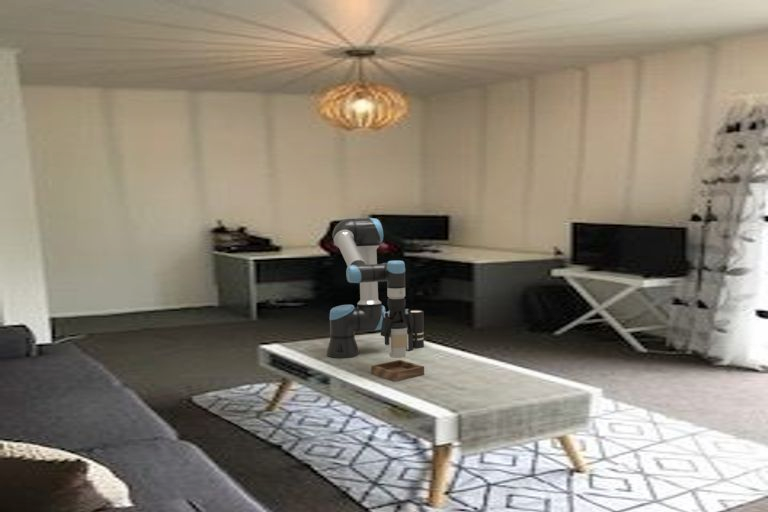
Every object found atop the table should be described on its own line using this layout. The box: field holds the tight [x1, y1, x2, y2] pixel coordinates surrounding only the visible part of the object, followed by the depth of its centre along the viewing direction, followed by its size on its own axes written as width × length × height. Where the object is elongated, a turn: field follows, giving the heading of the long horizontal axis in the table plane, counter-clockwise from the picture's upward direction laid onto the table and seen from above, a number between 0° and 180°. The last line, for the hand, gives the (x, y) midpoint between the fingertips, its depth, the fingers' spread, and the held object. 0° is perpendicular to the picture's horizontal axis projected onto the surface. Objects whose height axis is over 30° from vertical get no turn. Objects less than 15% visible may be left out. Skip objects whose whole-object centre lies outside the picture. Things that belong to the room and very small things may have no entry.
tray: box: [370, 359, 425, 382], centre depth 295 cm, size 16×16×4 cm
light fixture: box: [396, 309, 425, 352], centre depth 344 cm, size 10×14×18 cm
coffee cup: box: [388, 321, 408, 359], centre depth 293 cm, size 9×9×15 cm
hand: (397, 350), depth 294 cm, fingers closed on coffee cup, 8 cm apart
